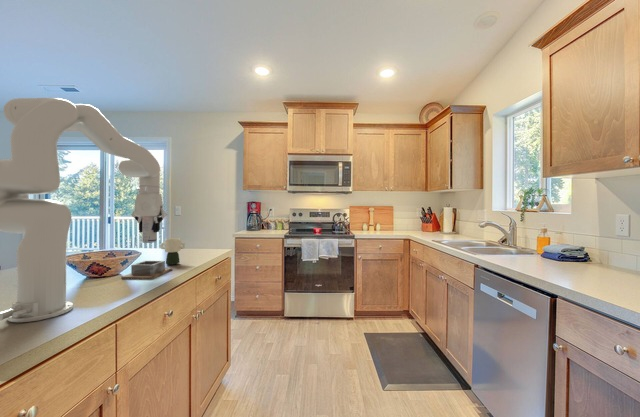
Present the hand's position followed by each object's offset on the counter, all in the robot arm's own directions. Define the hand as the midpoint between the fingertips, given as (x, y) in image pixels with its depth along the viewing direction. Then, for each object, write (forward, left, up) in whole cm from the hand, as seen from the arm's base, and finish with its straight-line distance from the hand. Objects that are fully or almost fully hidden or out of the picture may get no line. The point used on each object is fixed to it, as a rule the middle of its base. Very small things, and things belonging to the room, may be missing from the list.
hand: (149, 231), depth 118 cm
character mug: (+20, 0, -19) cm, 27 cm away
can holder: (0, 0, -19) cm, 19 cm away
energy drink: (0, 0, -5) cm, 5 cm away
